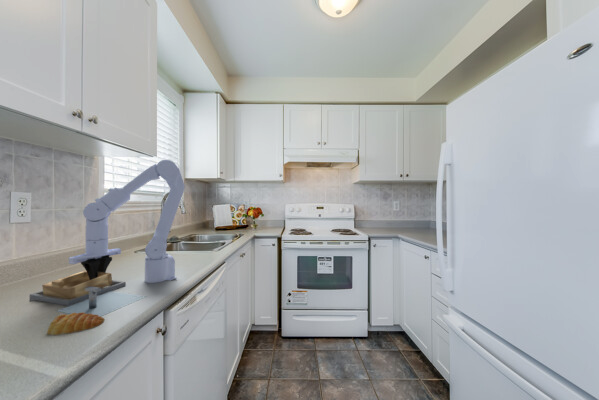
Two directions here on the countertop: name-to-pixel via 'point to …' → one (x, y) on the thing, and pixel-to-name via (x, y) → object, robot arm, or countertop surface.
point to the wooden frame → (75, 285)
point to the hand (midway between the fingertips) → (96, 280)
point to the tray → (68, 302)
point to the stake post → (92, 296)
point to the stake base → (103, 303)
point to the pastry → (73, 323)
